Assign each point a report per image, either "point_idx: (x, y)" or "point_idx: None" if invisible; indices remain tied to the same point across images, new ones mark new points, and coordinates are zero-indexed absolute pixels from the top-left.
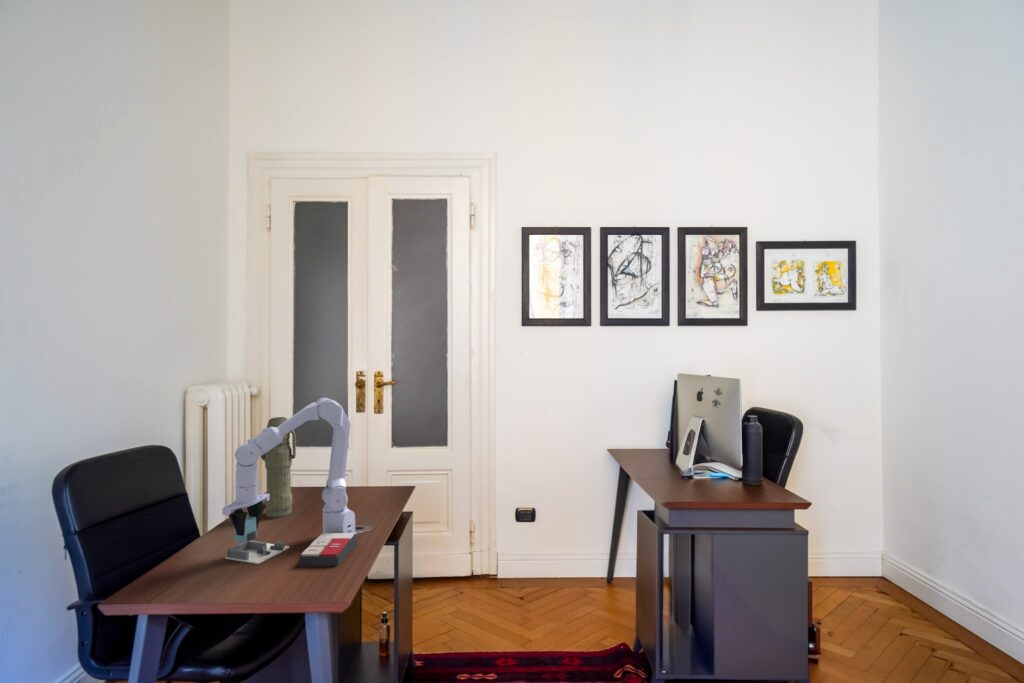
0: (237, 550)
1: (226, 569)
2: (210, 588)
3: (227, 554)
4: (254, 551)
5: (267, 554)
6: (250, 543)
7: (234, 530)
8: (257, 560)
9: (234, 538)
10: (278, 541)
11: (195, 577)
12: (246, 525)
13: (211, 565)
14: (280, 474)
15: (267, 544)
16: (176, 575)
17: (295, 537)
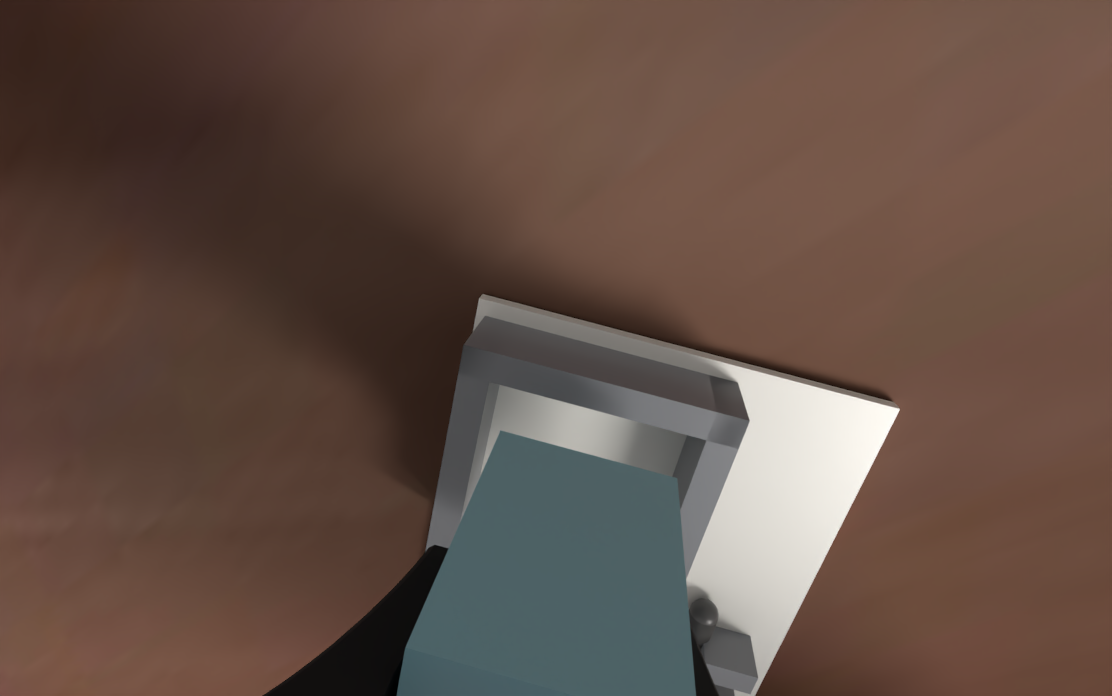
0: (452, 465)
1: (294, 439)
2: (40, 503)
3: (479, 323)
4: None
5: None
6: (691, 461)
7: (463, 517)
8: None
9: (494, 448)
10: (752, 680)
11: (111, 282)
12: None
13: (328, 257)
14: None
15: (812, 525)
16: (74, 62)
17: (1019, 665)
